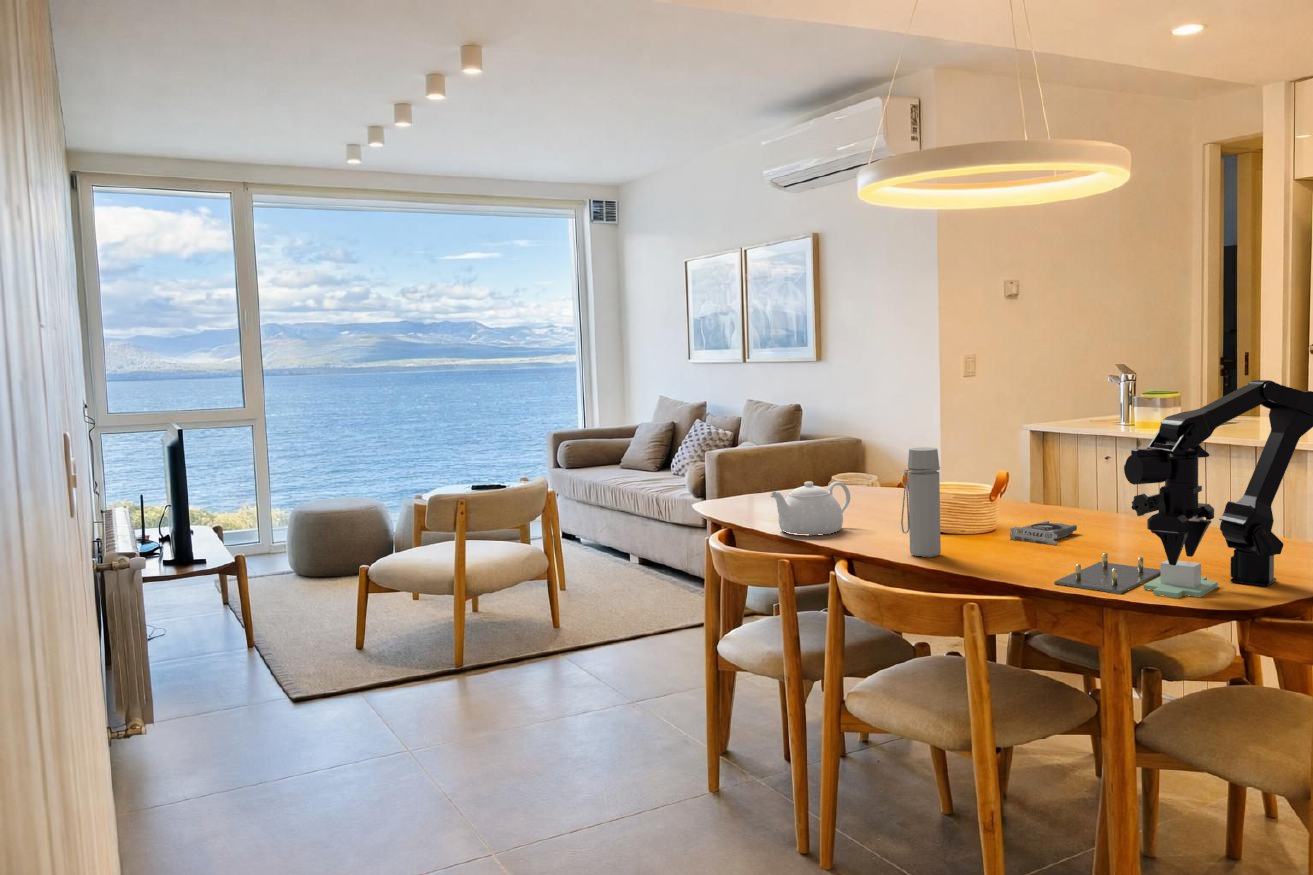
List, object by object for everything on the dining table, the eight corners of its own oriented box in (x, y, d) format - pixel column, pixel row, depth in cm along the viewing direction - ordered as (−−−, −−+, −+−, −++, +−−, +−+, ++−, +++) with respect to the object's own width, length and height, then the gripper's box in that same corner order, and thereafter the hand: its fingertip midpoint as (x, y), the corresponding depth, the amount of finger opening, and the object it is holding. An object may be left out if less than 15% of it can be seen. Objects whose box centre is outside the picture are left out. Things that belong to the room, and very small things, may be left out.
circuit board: (1222, 584, 192) (1222, 559, 192) (1194, 600, 182) (1194, 574, 181) (1168, 576, 200) (1168, 552, 199) (1137, 592, 189) (1137, 567, 188)
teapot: (840, 538, 253) (839, 486, 252) (770, 536, 259) (769, 486, 258) (851, 525, 271) (850, 476, 269) (786, 524, 277) (784, 476, 276)
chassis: (1163, 572, 203) (1163, 555, 203) (1120, 593, 188) (1120, 575, 188) (1099, 564, 213) (1099, 548, 212) (1054, 584, 198) (1054, 566, 197)
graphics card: (1054, 533, 233) (1008, 526, 242) (1054, 548, 234) (1008, 541, 243) (1089, 523, 244) (1044, 517, 253) (1089, 538, 244) (1043, 532, 253)
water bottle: (945, 552, 231) (944, 447, 229) (936, 559, 224) (934, 451, 222) (907, 549, 236) (905, 446, 233) (896, 556, 229) (894, 450, 227)
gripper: (1155, 472, 201) (1155, 547, 202) (1119, 484, 188) (1119, 564, 190) (1215, 476, 193) (1214, 554, 194) (1181, 488, 180) (1181, 571, 182)
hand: (1181, 560), depth 190 cm, fingers open, 9 cm apart
